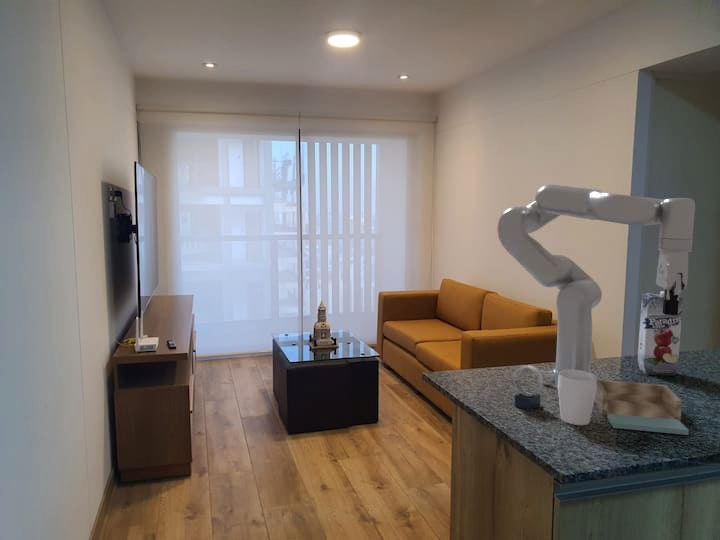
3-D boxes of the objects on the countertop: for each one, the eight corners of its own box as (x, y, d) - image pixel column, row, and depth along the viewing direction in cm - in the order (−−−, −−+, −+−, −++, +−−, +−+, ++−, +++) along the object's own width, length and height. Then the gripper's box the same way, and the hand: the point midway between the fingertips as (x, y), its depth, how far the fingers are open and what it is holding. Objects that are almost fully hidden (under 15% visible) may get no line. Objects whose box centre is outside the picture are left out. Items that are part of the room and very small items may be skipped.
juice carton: (634, 367, 178) (639, 288, 175) (667, 369, 177) (673, 289, 174) (644, 376, 170) (650, 292, 167) (680, 377, 168) (686, 293, 165)
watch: (519, 399, 148) (521, 361, 147) (546, 407, 142) (548, 367, 141) (508, 404, 144) (509, 364, 143) (534, 412, 138) (536, 371, 137)
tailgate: (607, 418, 134) (613, 427, 127) (607, 413, 134) (613, 422, 127) (678, 424, 130) (688, 435, 123) (678, 419, 130) (688, 430, 123)
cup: (591, 431, 126) (594, 383, 125) (552, 423, 131) (554, 376, 130) (597, 419, 134) (600, 373, 133) (559, 412, 139) (562, 367, 137)
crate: (601, 417, 135) (602, 394, 135) (592, 400, 147) (593, 379, 147) (680, 424, 131) (682, 401, 130) (664, 406, 143) (666, 385, 142)
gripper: (651, 243, 147) (646, 308, 149) (668, 247, 133) (662, 319, 135) (681, 244, 145) (676, 310, 147) (701, 247, 131) (696, 320, 133)
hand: (670, 314), depth 141 cm, fingers closed
